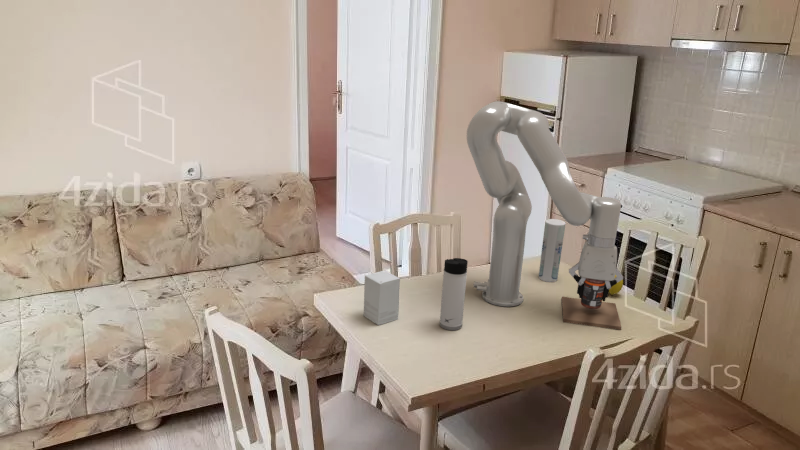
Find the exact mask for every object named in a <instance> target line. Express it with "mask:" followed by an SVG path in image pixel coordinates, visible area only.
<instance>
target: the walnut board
mask: <svg viewBox="0 0 800 450" xmlns="http://www.w3.org/2000/svg"><path fill="white" fill-rule="evenodd" d="M561 310H562V312H561V313H562V322H563V323H567V324H573V325H574V324H575V325H582V326H589V327H596V328H604V329H611V330H612V329H613V330H618V331H621V330H622V323H621V319H620V316H619V312H618V308H617V304H616V303H614V302H608V301H602V304H601V307H600V308H598V309H590V308H586V307H584V306H583V305H582V304H581V298H577V297H568V296H561Z"/></svg>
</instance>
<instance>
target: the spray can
mask: <svg viewBox="0 0 800 450" xmlns="http://www.w3.org/2000/svg"><path fill="white" fill-rule="evenodd" d="M566 225H567V223H566V221H565V220H561V219H556V218H549V219H546V220H545V222H544V231H543V238H542V245H541V253H540V254H541V255H540V263H539V271H538V279H539V280H541V281H543V282H546V283H555V282H557V281H558V278H559V271H560V264H561V259H562V253H563V252H562V251H563V243H564V239H565V238H564V236H565V230H566Z"/></svg>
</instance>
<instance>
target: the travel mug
mask: <svg viewBox="0 0 800 450" xmlns="http://www.w3.org/2000/svg"><path fill="white" fill-rule="evenodd" d="M468 263H469V261H468V259H465V258H460V257H454V258H447V259H445V260H444V265H443V266H444V268H443V275H442V276H443V278H442V287H441V288H442V290H441V300H440V301H441V302H440V314H439V315H440V316H439V317H440V318H439V326H440V328H442V329H444V330H446V331H457V330H460V329H462V327H463V319H464V308H465V296H466V285H467V276H468V275H467V273H468Z"/></svg>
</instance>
